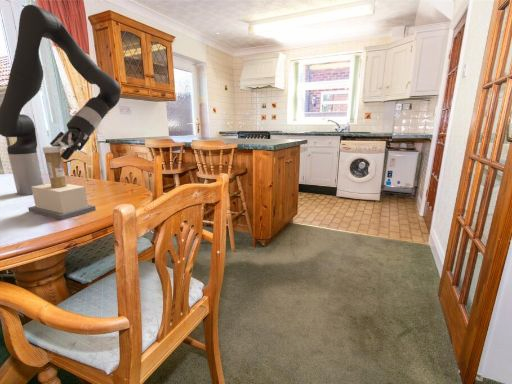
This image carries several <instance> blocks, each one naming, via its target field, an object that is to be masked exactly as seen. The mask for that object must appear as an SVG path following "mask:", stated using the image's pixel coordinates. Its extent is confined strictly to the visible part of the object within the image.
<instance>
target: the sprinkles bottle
mask: <svg viewBox="0 0 512 384" xmlns="http://www.w3.org/2000/svg"><path fill="white" fill-rule="evenodd" d="M42 152H43V154H44V157H45V158H44V159H45V165H46V169H47V173H48V177H49V181H50V183H51V187H54V188H56V187H63V186H66V185H67V184H68V183H67V180H66V173H65V169H64V168H65V167H64V164H63V160H62V159H63V158H62V157H61V154H62V153H61V149H60V147H59V146H52V145H50V146H43V147H42Z"/></svg>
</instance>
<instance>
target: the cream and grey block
mask: <svg viewBox="0 0 512 384" xmlns="http://www.w3.org/2000/svg"><path fill="white" fill-rule="evenodd" d="M32 192H33V194H32V196H33V200H34V206H33V205H32V206H29V207H28V208H27V209H28V212H29V213H33V214H37V215H41V216H45V217H49V218H52V219H56V220H60V221H64V220H68V219H71V218H75V217H76V216H78V217H79V216H81V215H85V214H87V213H92V212H94V211H96V210H97V209H96V206H95V205H91V204H88V203H89V202H88V197H87V191H86V187H85V186H83V185H76V184H70V183H67V185H66V186H63V187H56V188H54V187H51V182H50V183H45V184H44V183H43V185H38V186H33V187H32Z"/></svg>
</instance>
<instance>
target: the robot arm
mask: <svg viewBox="0 0 512 384" xmlns="http://www.w3.org/2000/svg"><path fill="white" fill-rule="evenodd" d="M18 20H19V22H18V31H17V41H16V46H15V47H16V48H15V51H14V56H13V61H12V64H11V67H10V70H9V71H10V72H9V75H8V82H7V85H6V90H5V91H4V96H3V99H2V101H1V104H0V136H2V137H5V138H16V141H15V142H14V143H13V144H11V145H9V146H7V148H6V151H7V155H8V159H9V163H10V167H11V171H12V176H13V180H14V184H15V189H16V193H17V195H19V196H26V195H33V192H32V187H33V186H38V185H44V180H43V177H42V176H43V175H42V171H41V166H40V160H39V156H38V151H37V149H38V139H37V138H38V137H37V133H36V126H35V124H34V121H33V120H32V118H31V117H30V116H28V115H27V114H22V110H23V108H24V107H25V106H26V104H28V102H30V101H31V100H32V99H33V98H34V97H35V96H36V95H37V94H38V93H39V91H40V89H41V86H42V83H43V79H44V68H43V64H42V62H41V57H40V45H41V42H42V39H43V38H45V39H48V40H50V41H52V42H53V43H54V44H55V45H57V46H58V47H60V49H61V50H62V51H63V52H64V54H65V55H66V57H67V59H68V61H69V63H70V64H71V66H72V67H73V69H75V71H76V72H77V73H78V74H79V75H80V76H81V77H82V78H83V79H84V80H85V81H86V82H87V83H88V84H90V85H96V86H97V87H98V88H99V93H98V94H97V96H96V97H95V96H94V97H91V98H90V99H88V100H87V101H86V103H85V104H84V105H83V106H82V107H81V108H80V109H78V111H76V113H74V115H73V116H72V118H71V119H70V120H69V121H68V122H67V123H66V128H67V129H68V130H67V131H66V132H63V131H60V132H59V133H58V134H57V135H56V136H55V137H54V139H53V140H52V141H51V142H50V143H49V144H50V146H59V147H60V150H61V149H63V148H65V149H64V150H63V152H62V153H60V154H61V159H63V160H65V161H68V160H69V159H70V158H71V156H72V155H73V154H74V153H76V152H77V151H81V150H82V149H83V148H84V147H85V145H86V144H87V142H88V141H89V140H90V139H91V138H90V136H92V134H93V133H94V132H95V130H96V129H97V128H99V127H98V126H99V125H100V123H101V122H102V121H103V120H104V118H105V117H106V115H107V114H108V112H110V111H111V110H112V109H114V108H115V107H116V106H117V104H118V103H119V101H120V98H121V94H122V93H121V92H122V89H121V85H120V84H119V82H118V81H117V80H116V79H115V78H114V77H112V76H111V75H110V74H108V73H107V72H106V71H103V70H102V69H101V68H100V67H99V66H98V65H97V63H96V62H95V61H94V60H92V59H91V58H90V56H89V55H88V54H87V53H86V52H85V51H84V50H83V49H82V47H81V46H80V45H79V44H78V42H77V41H76V40H75V39H74V38H73V36H72V35H71V33H70V32H69V31H68V30H67V28H66V27H65V25H64V23H62V21H61V20H60V19H59V18H58V16H56V14H54V13H52V12H51V11H49V10H47V9H44V8H42V7H40V6H37V5H34V4H27V5H25V6H24V7H22V9H21V12H20V15H19V19H18Z"/></svg>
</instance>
